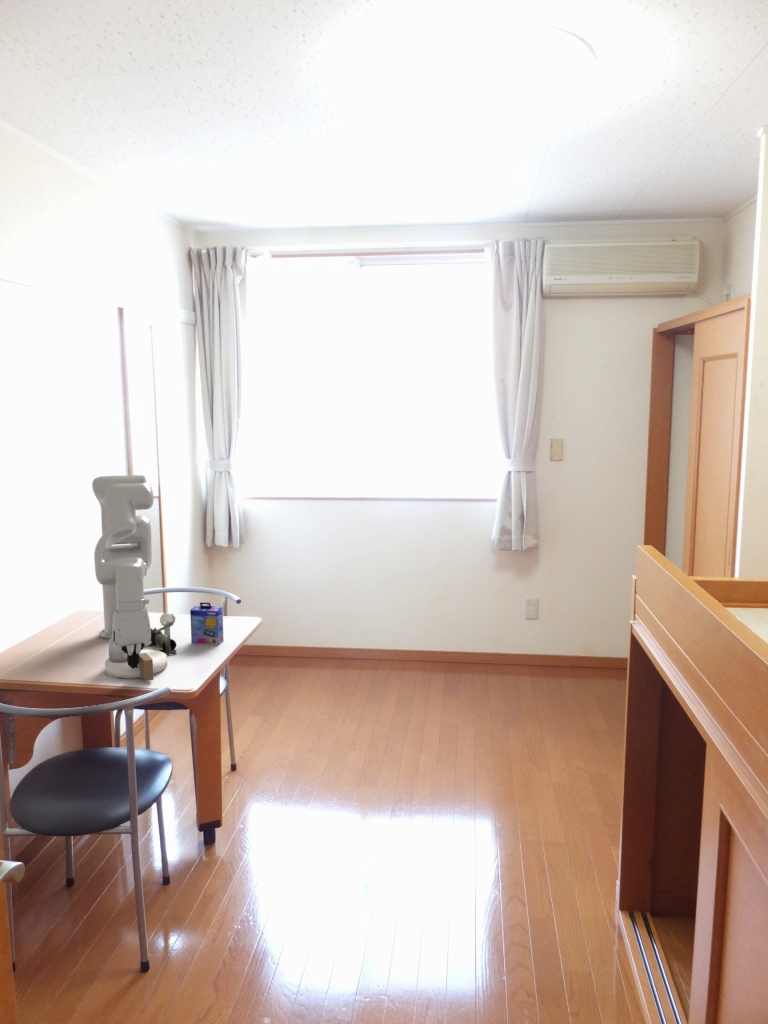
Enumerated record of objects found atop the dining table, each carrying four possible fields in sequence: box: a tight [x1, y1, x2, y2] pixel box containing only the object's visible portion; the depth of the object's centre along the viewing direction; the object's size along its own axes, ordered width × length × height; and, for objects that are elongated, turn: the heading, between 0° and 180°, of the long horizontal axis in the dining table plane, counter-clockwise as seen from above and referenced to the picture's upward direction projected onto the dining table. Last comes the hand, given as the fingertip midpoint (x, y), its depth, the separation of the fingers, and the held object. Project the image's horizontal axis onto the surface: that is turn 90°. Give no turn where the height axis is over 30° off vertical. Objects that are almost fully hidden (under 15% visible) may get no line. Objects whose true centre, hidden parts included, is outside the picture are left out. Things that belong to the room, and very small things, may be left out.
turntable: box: [104, 649, 168, 682], centre depth 224 cm, size 23×18×6 cm
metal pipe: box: [146, 627, 177, 651], centre depth 248 cm, size 18×7×6 cm, turn 35°
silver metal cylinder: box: [107, 638, 134, 663], centre depth 226 cm, size 8×8×6 cm
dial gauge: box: [154, 612, 177, 656], centre depth 238 cm, size 5×8×14 cm
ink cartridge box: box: [189, 601, 225, 645], centre depth 251 cm, size 10×6×14 cm, turn 85°
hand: (133, 666), depth 216 cm, fingers closed
